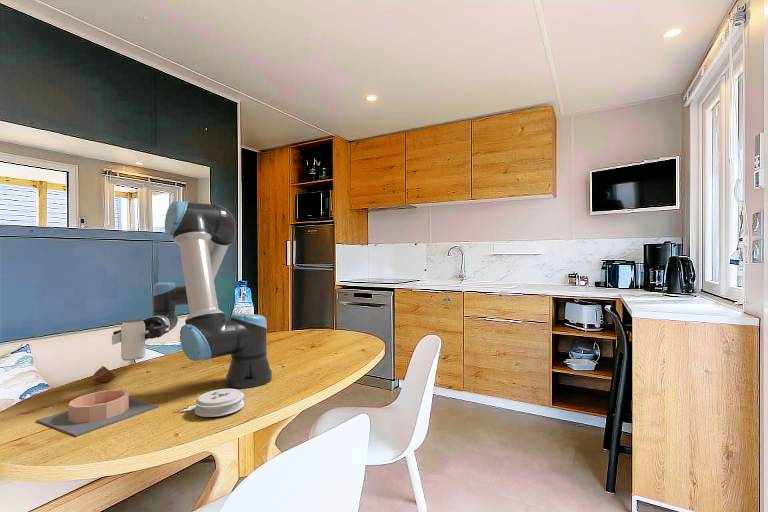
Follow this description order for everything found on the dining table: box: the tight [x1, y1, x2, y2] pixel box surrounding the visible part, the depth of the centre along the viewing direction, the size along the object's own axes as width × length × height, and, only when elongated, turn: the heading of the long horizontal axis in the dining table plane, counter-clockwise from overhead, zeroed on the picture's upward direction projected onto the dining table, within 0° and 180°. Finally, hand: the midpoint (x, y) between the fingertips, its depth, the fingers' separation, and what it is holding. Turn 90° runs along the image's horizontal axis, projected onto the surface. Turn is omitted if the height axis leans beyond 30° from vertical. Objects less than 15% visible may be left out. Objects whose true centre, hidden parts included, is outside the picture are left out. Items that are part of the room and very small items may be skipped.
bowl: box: [67, 389, 130, 423], centre depth 103 cm, size 13×13×4 cm
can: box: [120, 318, 146, 361], centre depth 120 cm, size 6×6×12 cm
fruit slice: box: [91, 365, 117, 383], centre depth 130 cm, size 8×7×5 cm
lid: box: [194, 388, 245, 418], centre depth 104 cm, size 13×13×5 cm
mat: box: [35, 397, 160, 437], centre depth 103 cm, size 20×20×1 cm
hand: (126, 339), depth 115 cm, fingers closed on can, 6 cm apart
